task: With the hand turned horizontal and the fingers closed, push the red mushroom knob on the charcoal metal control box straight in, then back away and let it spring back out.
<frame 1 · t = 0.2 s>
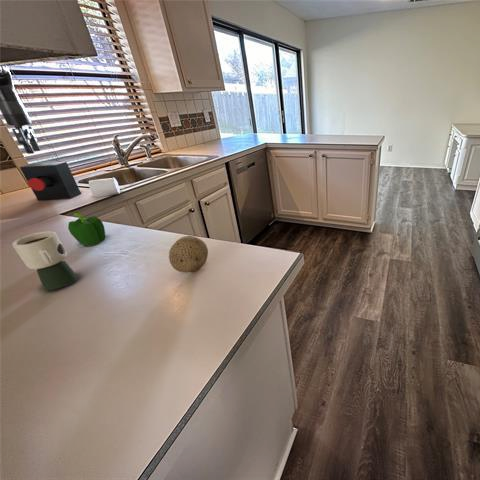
hand: (34, 152, 120), 21 cm above the worktop, tool pointing down, fingers open, 8 cm apart
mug: (109, 194, 132), on the worktop
character mug: (62, 285, 65), on the worktop
control box: (60, 197, 130), on the worktop
bell pepper: (94, 243, 85), on the worktop
knob: (41, 182, 120), point 9 cm above the worktop, slide at -0.1 cm
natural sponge: (194, 273, 68), on the worktop
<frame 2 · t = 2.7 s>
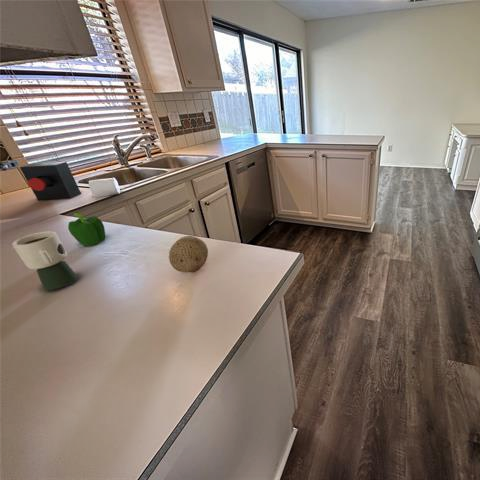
hand: (6, 162, 105), 20 cm above the worktop, tool horizontal, fingers open, 7 cm apart
nothing on the worktop moved.
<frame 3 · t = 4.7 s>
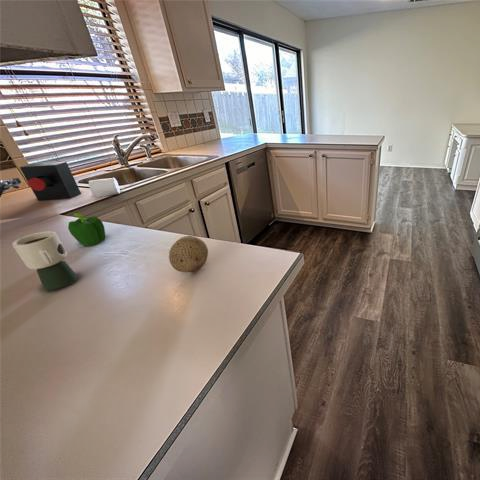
hand: (17, 180, 109), 13 cm above the worktop, tool horizontal, fingers closed
nothing on the worktop moved.
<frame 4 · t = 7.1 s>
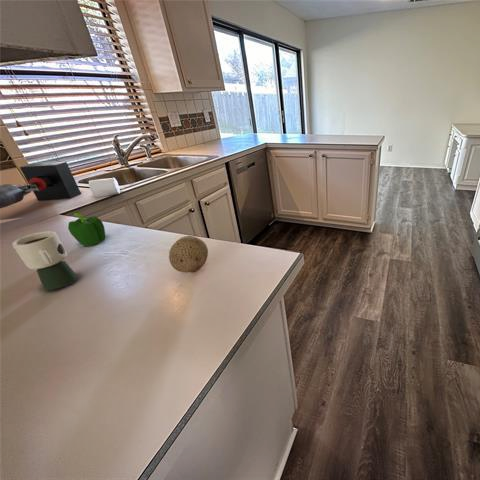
hand: (36, 184, 117), 9 cm above the worktop, tool horizontal, fingers closed
knob: (41, 182, 120), point 9 cm above the worktop, slide at 0.2 cm, touching gripper
everything else where it was.
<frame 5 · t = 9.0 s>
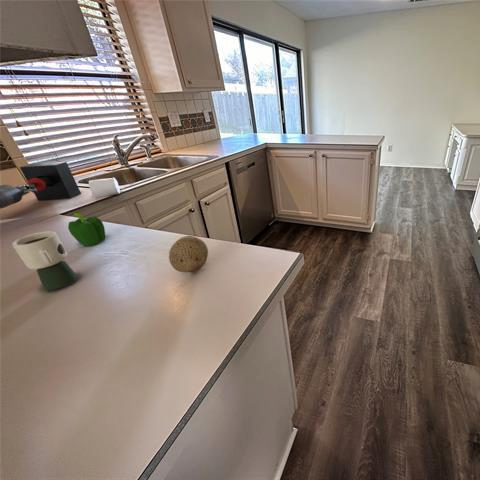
hand: (34, 185, 116), 9 cm above the worktop, tool horizontal, fingers closed
knob: (41, 182, 120), point 9 cm above the worktop, slide at -0.1 cm
everything else where it was.
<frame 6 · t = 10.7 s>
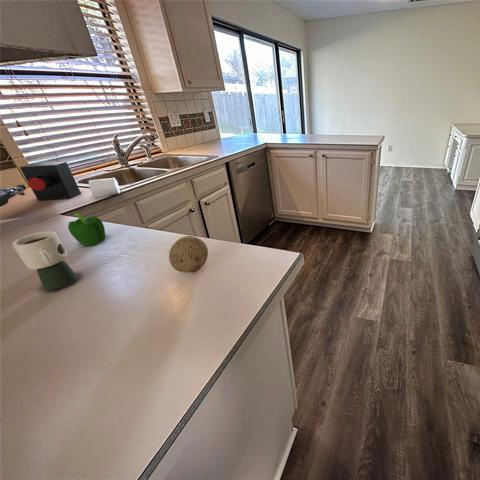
hand: (23, 186, 111), 10 cm above the worktop, tool horizontal, fingers closed
nothing on the worktop moved.
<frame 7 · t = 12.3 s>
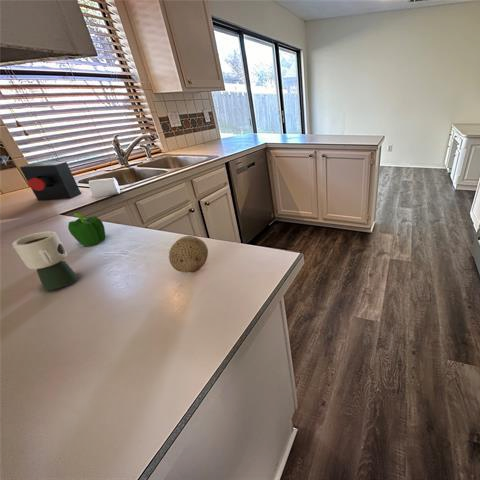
hand: (5, 158, 105), 22 cm above the worktop, tool horizontal, fingers closed
nothing on the worktop moved.
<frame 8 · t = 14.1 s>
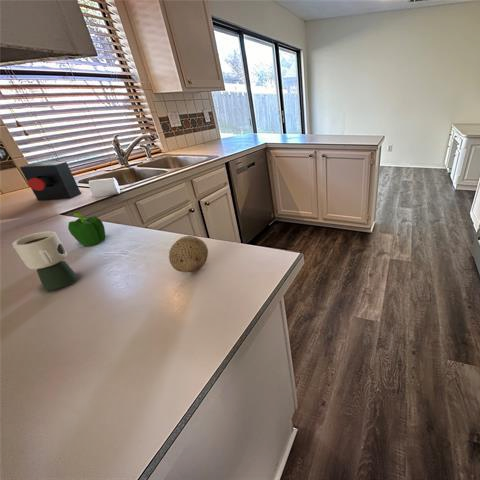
hand: (1, 152, 104), 24 cm above the worktop, tool horizontal, fingers closed
nothing on the worktop moved.
at the end: knob pulled out 1.4 cm at the most during the clip, back to where it started at the end; knob slide at -0.1 cm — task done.
